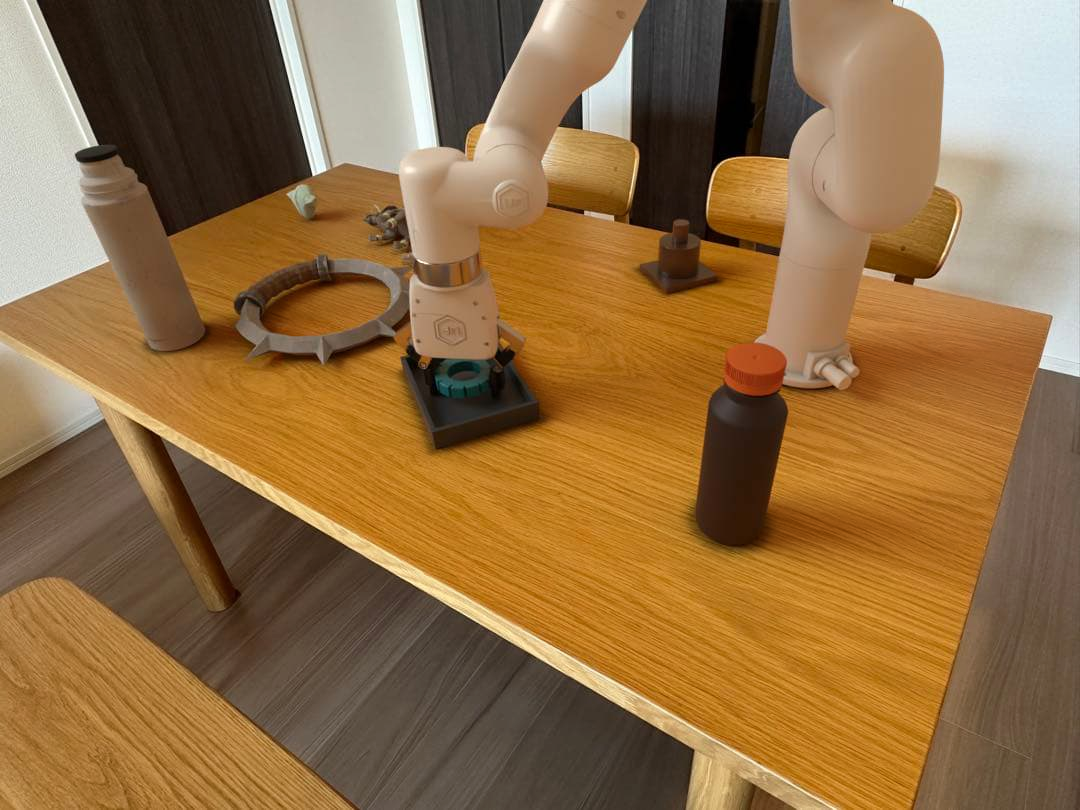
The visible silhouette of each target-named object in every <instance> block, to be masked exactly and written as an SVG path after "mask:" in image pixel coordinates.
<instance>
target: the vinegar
mask: <svg viewBox="0 0 1080 810" xmlns="http://www.w3.org/2000/svg"><path fill="white" fill-rule="evenodd" d="M786 364H787V360H786V357H785V356H784V354H783V353H782V352H781V351H780V350H778V349H776V348H775V347H772V346H770V345H767V344H762V343H755V342H754V341H753V342H749V341H747V342H742V343H739V344H735V345H733V346H732V347H730V348H729V349H728V351H727V352H726V354H725V361H724V367H723V373H722V375H723V376H722V377H723V378H722V380H723V384H722V385H721V386H719V387H718V388H717V389H716V390H715V391H714V392H712V394H711V395H710V398H709V400H708V405H707V413H706V420H705V428H704V436H703V445H702V452H701V461H700V470H699V477H698V485H697V494H696V501H695V510H694V517H695V523H696V524H697V527H698V529H699V530H700V531H701V532H702V534H704V536H706V537H707V538H709V539H711V540H713V541H714V542H716V543H718V544H719V543H720V544H723V545H726V546H741V545H746V544H749V543H751V542H753V541H755V540H757V538H758V537H759V536H760V535H761V534H762V533H763V530H764V526H765V523H766V518H767V513H768V510H769V509H768V508H769V504H770V499H771V494H772V491H773V485H774V481H775V476H776V472H777V467H778V463H779V458H780V453H781V448H782V444H783V439H784V434H785V429H786V424H787V421H788V416H789V408H788V404H787V401H786V400H785V399H784V397H783V396H782V394H780V392H781V388H782V386H783V384H782V383H783V379H784V374H785V369H786Z"/></svg>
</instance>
